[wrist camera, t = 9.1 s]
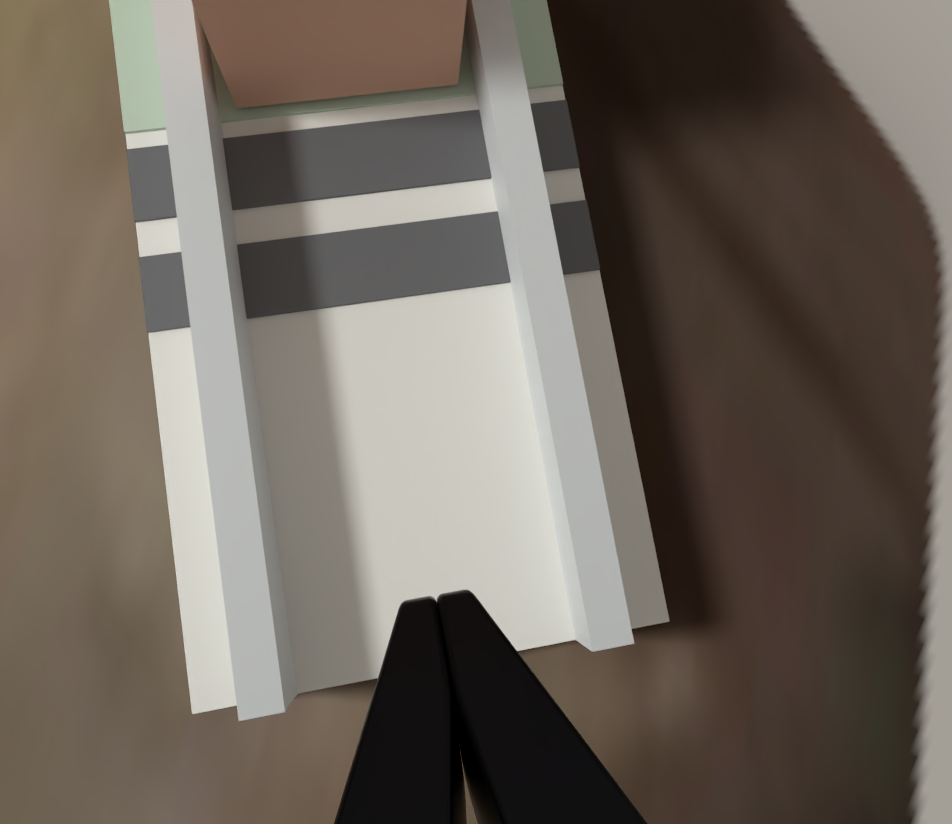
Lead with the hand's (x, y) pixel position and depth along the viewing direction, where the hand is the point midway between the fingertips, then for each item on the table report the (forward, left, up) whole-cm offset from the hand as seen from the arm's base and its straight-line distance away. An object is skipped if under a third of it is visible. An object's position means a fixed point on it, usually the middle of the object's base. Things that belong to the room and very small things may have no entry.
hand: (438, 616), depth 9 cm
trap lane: (+7, -5, -11) cm, 14 cm away
